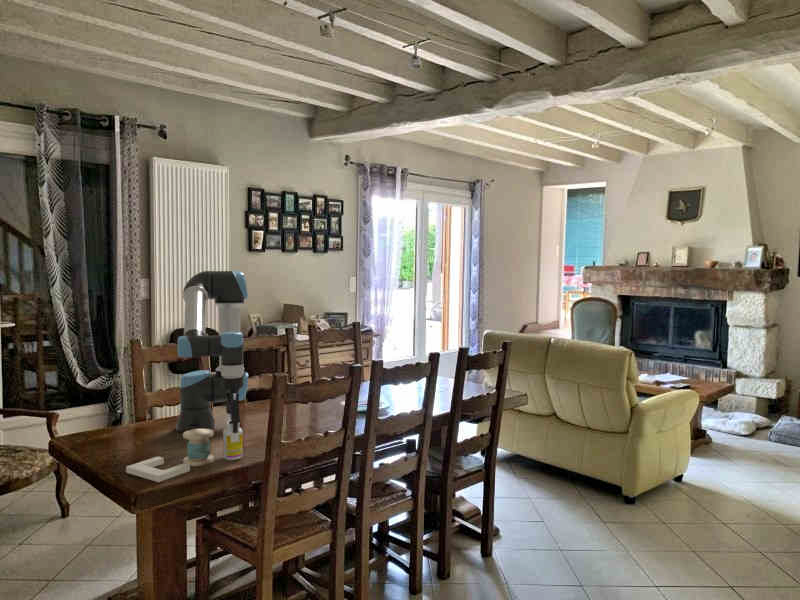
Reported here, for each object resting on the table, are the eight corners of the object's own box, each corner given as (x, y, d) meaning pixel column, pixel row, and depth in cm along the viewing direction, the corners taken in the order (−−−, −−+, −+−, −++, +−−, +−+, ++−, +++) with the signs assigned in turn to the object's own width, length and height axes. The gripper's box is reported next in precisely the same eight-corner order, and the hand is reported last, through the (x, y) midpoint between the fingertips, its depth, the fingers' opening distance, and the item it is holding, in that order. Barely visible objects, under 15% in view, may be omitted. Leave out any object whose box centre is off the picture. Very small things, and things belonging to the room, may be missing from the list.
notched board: (157, 462, 204) (157, 456, 203) (189, 470, 196) (189, 464, 195) (126, 472, 193) (126, 466, 193) (158, 482, 185) (158, 476, 185)
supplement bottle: (246, 457, 209) (246, 421, 209) (229, 462, 204) (229, 425, 204) (235, 453, 214) (235, 418, 213) (219, 457, 209) (219, 421, 208)
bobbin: (200, 454, 212) (199, 427, 211) (220, 459, 207) (219, 431, 206) (176, 462, 203) (176, 433, 202) (197, 468, 198) (196, 438, 197)
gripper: (218, 371, 217) (218, 428, 218) (224, 383, 194) (225, 447, 195) (239, 370, 220) (239, 426, 221) (248, 382, 197) (248, 445, 198)
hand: (232, 436), depth 208 cm, fingers open, 13 cm apart
